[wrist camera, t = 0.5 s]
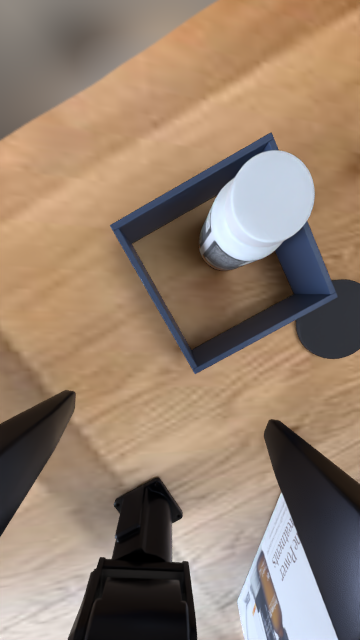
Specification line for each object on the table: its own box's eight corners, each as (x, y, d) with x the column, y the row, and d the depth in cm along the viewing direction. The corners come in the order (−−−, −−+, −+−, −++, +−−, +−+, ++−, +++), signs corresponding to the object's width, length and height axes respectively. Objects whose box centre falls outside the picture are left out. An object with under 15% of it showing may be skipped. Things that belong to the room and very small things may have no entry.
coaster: (381, 334, 22) (387, 335, 22) (313, 370, 23) (317, 372, 22) (355, 264, 21) (361, 264, 20) (283, 304, 21) (286, 304, 21)
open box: (299, 295, 21) (338, 297, 16) (189, 355, 22) (195, 374, 17) (245, 172, 19) (271, 131, 14) (124, 241, 20) (109, 225, 15)
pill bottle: (260, 252, 20) (342, 217, 11) (214, 281, 21) (253, 272, 11) (234, 203, 20) (298, 114, 10) (186, 233, 20) (202, 176, 10)
